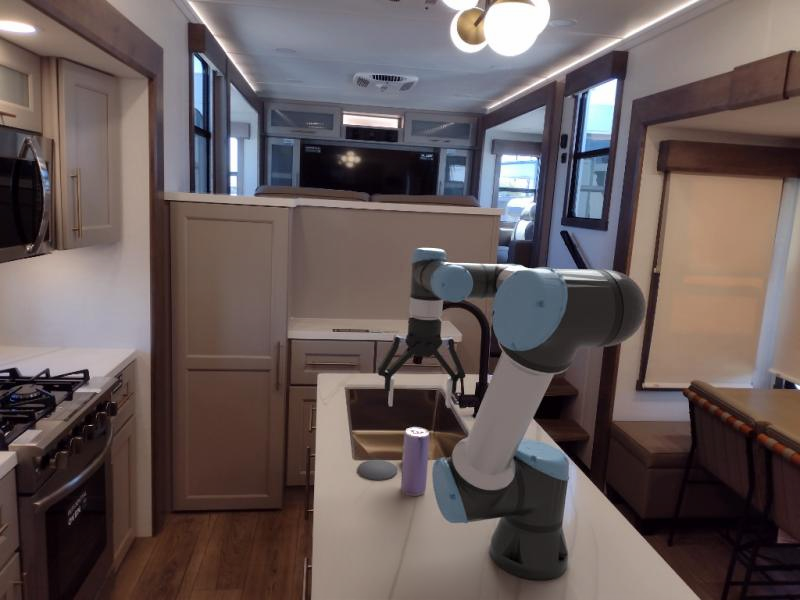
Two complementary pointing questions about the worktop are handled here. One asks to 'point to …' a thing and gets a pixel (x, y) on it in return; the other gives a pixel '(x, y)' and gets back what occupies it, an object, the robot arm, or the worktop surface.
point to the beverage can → (415, 461)
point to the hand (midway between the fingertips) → (419, 405)
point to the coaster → (377, 470)
